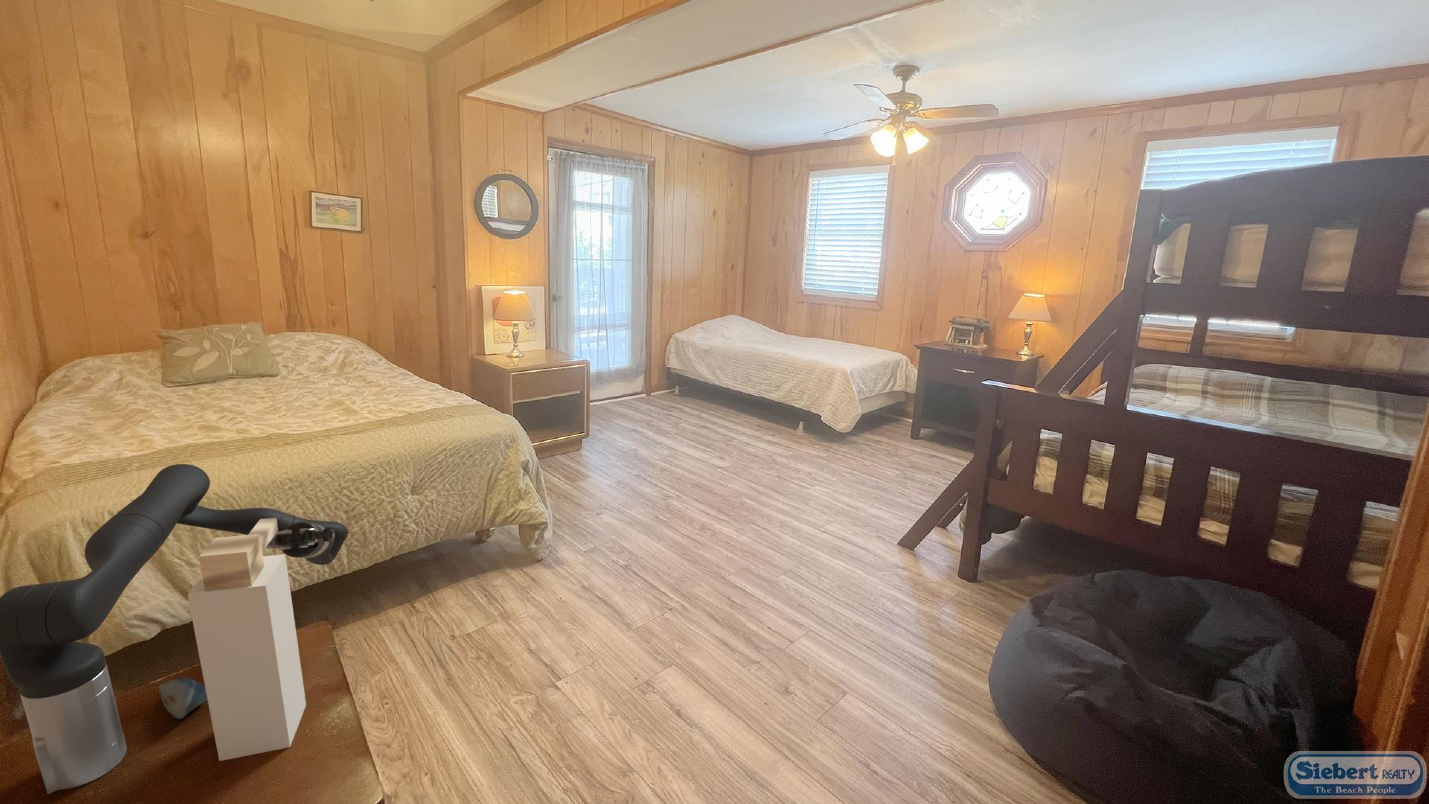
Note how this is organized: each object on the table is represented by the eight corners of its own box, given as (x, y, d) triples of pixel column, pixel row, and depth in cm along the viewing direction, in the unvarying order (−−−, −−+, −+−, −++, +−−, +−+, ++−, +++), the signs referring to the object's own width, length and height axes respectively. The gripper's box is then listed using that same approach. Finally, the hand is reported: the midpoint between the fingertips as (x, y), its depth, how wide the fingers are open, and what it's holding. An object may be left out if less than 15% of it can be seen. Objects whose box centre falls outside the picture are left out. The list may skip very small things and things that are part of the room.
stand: (290, 747, 102) (265, 585, 94) (219, 761, 99) (187, 594, 90) (306, 705, 111) (285, 554, 103) (241, 716, 108) (214, 561, 99)
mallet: (251, 585, 94) (246, 551, 92) (205, 590, 92) (198, 556, 90) (289, 528, 111) (285, 499, 110) (250, 532, 109) (246, 502, 107)
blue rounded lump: (176, 671, 113) (137, 679, 104) (228, 676, 115) (194, 684, 105) (163, 707, 111) (122, 719, 102) (215, 712, 113) (180, 723, 103)
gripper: (268, 526, 129) (238, 521, 114) (343, 520, 134) (324, 514, 119) (266, 561, 127) (235, 561, 112) (342, 553, 132) (322, 552, 117)
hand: (281, 537), depth 116 cm, fingers open, 8 cm apart
